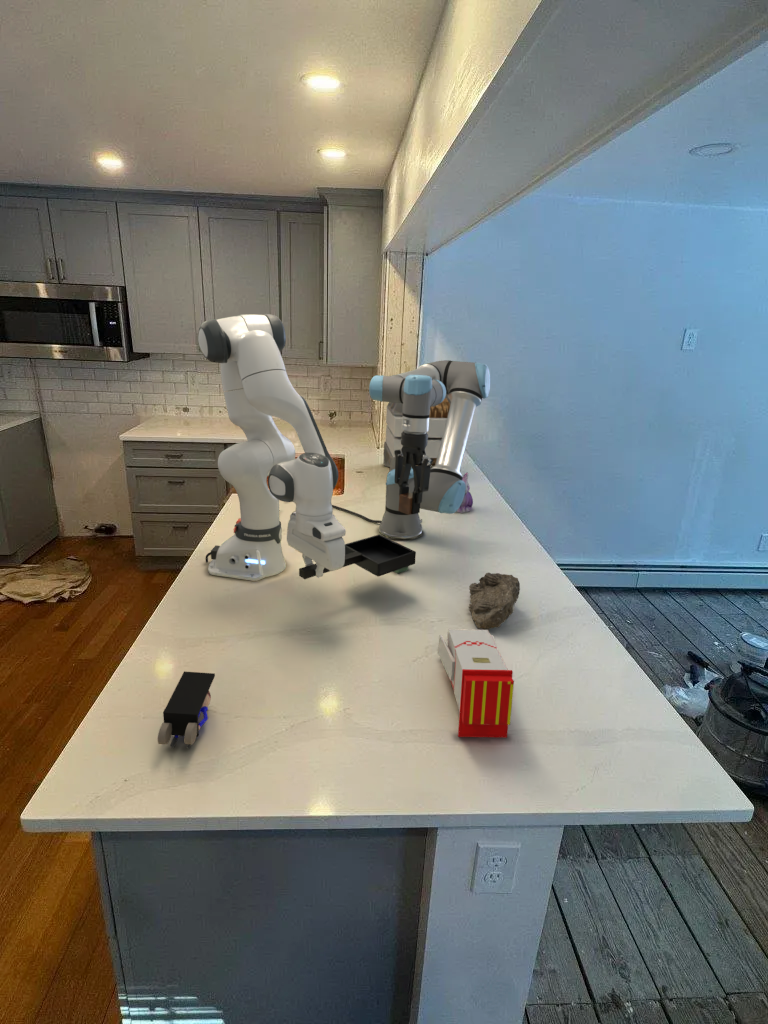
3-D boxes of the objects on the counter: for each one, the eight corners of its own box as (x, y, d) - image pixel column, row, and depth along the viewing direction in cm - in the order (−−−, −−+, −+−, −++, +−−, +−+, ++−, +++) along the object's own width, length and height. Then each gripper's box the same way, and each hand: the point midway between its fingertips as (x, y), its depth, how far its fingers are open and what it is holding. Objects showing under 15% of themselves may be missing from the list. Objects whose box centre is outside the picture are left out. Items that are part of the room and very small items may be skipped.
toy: (488, 613, 130) (523, 677, 101) (484, 667, 133) (517, 744, 104) (435, 612, 130) (455, 676, 101) (432, 666, 133) (451, 743, 103)
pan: (285, 574, 144) (285, 559, 143) (378, 545, 164) (379, 533, 163) (319, 596, 134) (319, 581, 132) (415, 563, 153) (416, 550, 152)
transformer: (382, 463, 289) (386, 382, 275) (445, 464, 293) (451, 384, 279) (390, 482, 257) (394, 392, 243) (460, 483, 261) (468, 394, 247)
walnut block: (398, 510, 166) (399, 494, 165) (409, 508, 169) (410, 492, 167) (408, 515, 163) (409, 498, 162) (419, 512, 166) (420, 496, 164)
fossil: (461, 576, 160) (507, 550, 155) (480, 600, 163) (525, 575, 158) (463, 624, 140) (516, 596, 135) (485, 650, 143) (537, 624, 138)
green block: (387, 568, 173) (388, 553, 171) (398, 565, 176) (399, 550, 174) (397, 573, 170) (398, 558, 168) (408, 570, 173) (409, 555, 171)
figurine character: (198, 762, 99) (219, 698, 112) (193, 731, 96) (215, 669, 109) (159, 761, 99) (184, 698, 112) (153, 730, 95) (180, 668, 109)
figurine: (459, 514, 221) (463, 477, 216) (445, 506, 229) (448, 470, 224) (479, 511, 225) (483, 475, 220) (464, 503, 234) (467, 468, 228)
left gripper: (280, 511, 141) (281, 562, 146) (327, 537, 127) (327, 592, 132) (301, 506, 145) (301, 556, 150) (350, 531, 131) (348, 585, 135)
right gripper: (384, 427, 162) (380, 505, 170) (427, 438, 150) (421, 521, 158) (403, 425, 167) (398, 501, 175) (446, 436, 155) (439, 516, 162)
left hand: (314, 573), depth 141 cm, fingers closed on pan, 2 cm apart
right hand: (409, 510), depth 166 cm, fingers closed on walnut block, 4 cm apart
